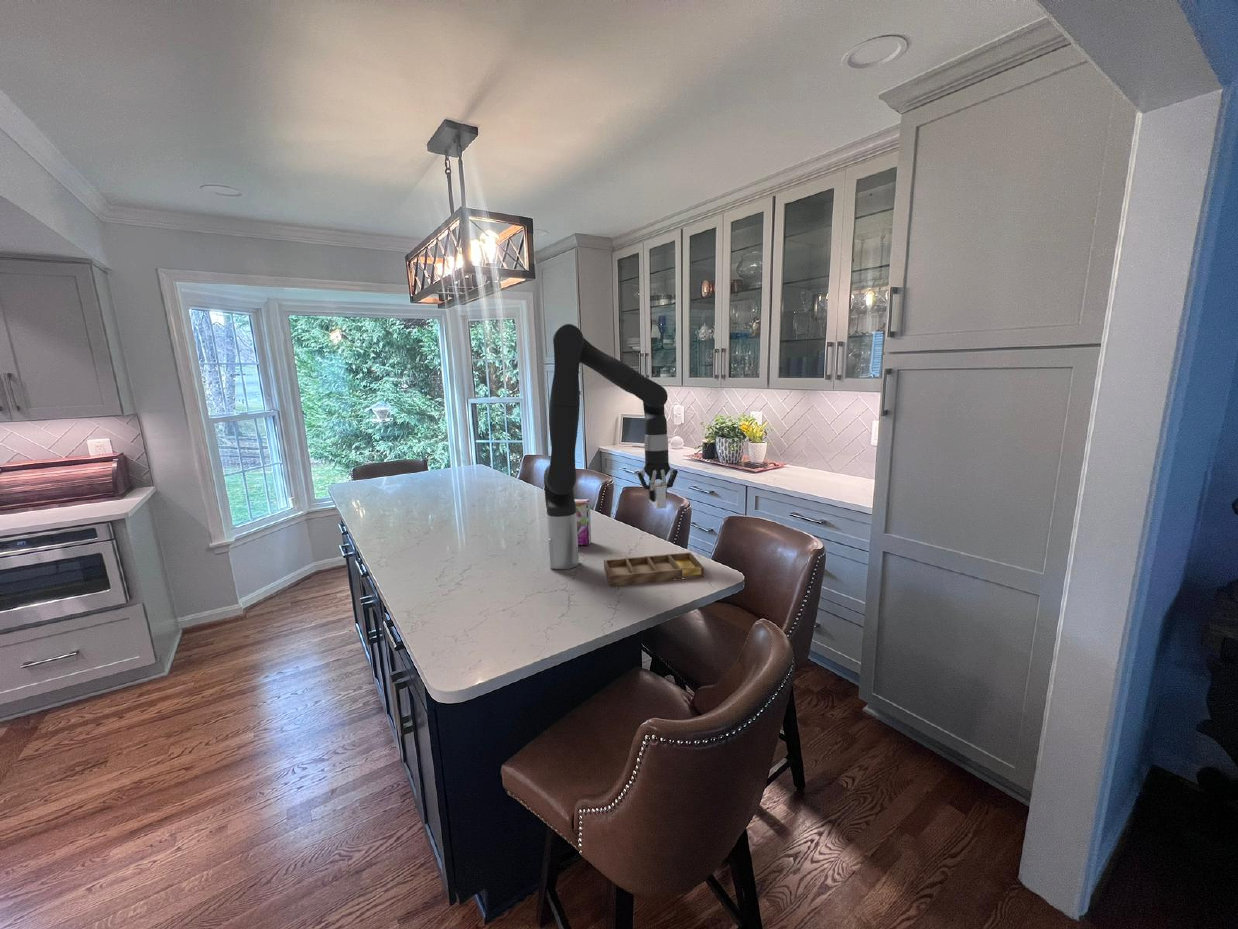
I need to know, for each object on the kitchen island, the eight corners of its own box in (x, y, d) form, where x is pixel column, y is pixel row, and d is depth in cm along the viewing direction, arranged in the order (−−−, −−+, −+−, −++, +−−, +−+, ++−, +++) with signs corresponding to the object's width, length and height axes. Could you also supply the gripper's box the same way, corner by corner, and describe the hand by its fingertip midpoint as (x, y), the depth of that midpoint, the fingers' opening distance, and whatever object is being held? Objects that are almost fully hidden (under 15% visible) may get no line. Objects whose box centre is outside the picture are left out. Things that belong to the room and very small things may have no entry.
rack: (610, 586, 142) (609, 576, 141) (604, 569, 155) (603, 560, 155) (704, 577, 146) (704, 567, 145) (690, 561, 160) (690, 552, 159)
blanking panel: (657, 508, 156) (656, 486, 155) (649, 501, 166) (649, 480, 165) (666, 507, 157) (665, 486, 156) (658, 500, 166) (657, 480, 165)
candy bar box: (559, 546, 179) (556, 502, 176) (562, 542, 184) (559, 499, 181) (589, 546, 178) (587, 501, 175) (591, 542, 183) (589, 498, 180)
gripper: (637, 451, 153) (639, 505, 156) (681, 448, 156) (682, 501, 158) (632, 448, 161) (634, 500, 163) (674, 445, 163) (675, 496, 166)
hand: (658, 500), depth 161 cm, fingers closed on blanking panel, 3 cm apart
